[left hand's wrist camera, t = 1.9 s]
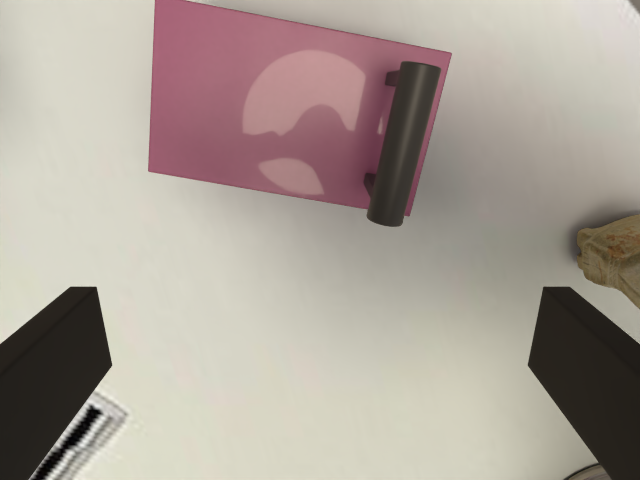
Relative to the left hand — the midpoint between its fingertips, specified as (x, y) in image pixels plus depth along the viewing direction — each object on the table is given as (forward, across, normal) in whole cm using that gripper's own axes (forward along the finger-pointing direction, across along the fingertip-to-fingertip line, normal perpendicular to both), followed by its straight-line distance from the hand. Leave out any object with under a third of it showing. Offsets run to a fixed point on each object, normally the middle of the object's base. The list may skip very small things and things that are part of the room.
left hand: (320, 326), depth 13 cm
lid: (+15, +1, -5) cm, 16 cm away
